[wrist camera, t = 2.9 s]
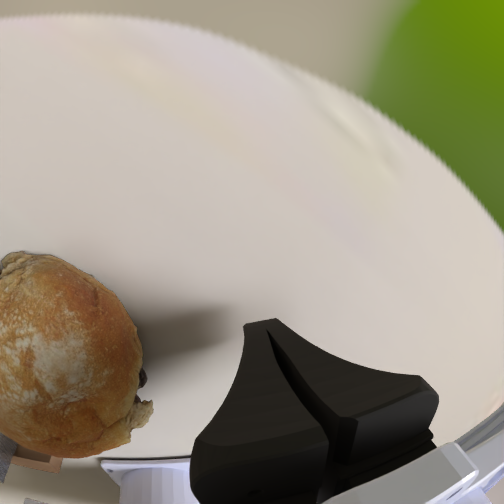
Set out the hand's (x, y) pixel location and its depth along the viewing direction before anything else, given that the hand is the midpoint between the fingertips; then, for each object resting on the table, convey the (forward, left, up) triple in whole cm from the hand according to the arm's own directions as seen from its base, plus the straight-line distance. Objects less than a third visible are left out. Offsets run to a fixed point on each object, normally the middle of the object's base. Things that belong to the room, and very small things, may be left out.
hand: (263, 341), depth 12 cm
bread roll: (0, +10, -2) cm, 10 cm away
